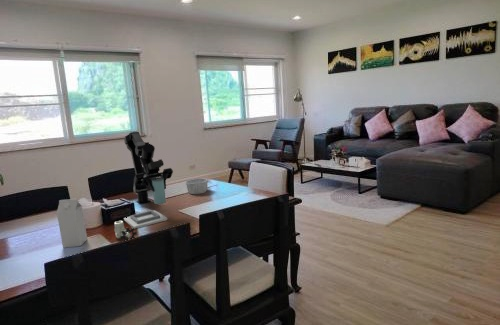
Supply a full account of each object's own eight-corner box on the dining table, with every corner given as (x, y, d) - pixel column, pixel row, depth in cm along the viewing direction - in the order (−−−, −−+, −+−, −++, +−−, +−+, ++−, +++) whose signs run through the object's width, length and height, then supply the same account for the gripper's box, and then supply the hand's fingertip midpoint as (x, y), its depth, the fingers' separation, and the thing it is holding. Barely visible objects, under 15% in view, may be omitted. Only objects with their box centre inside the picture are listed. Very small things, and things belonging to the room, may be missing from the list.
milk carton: (70, 241, 148) (62, 197, 145) (87, 239, 149) (80, 196, 145) (62, 248, 141) (54, 202, 138) (80, 246, 142) (73, 201, 138)
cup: (152, 202, 172) (149, 178, 170) (163, 200, 176) (160, 176, 173) (157, 205, 168) (154, 180, 166) (167, 202, 171) (165, 178, 169)
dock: (123, 220, 170) (123, 215, 170) (155, 212, 179) (154, 208, 179) (134, 228, 158) (133, 224, 157) (167, 219, 167) (167, 215, 166)
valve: (111, 237, 149) (122, 245, 140) (109, 223, 148) (119, 230, 139) (126, 233, 153) (137, 240, 144) (124, 219, 152) (135, 225, 143)
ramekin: (182, 194, 210) (181, 183, 209) (193, 188, 222) (192, 178, 221) (201, 195, 205) (200, 184, 204) (212, 189, 217) (211, 178, 216)
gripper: (132, 157, 165) (143, 184, 158) (169, 152, 176) (181, 176, 169) (129, 171, 173) (139, 197, 166) (164, 165, 184) (176, 189, 177)
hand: (159, 190), depth 169 cm, fingers closed on cup, 5 cm apart
